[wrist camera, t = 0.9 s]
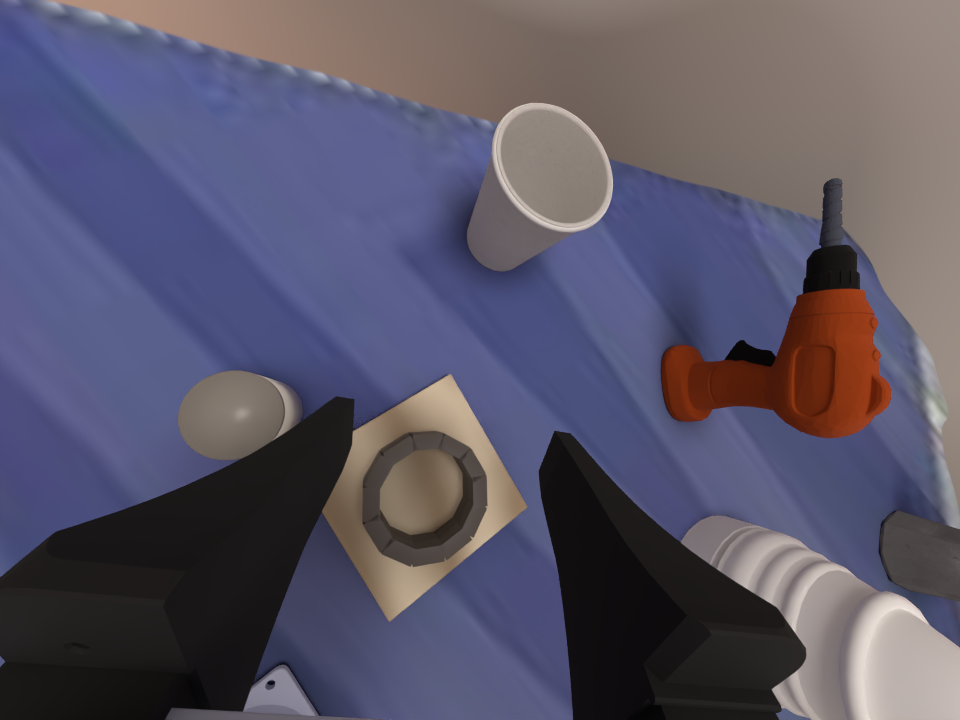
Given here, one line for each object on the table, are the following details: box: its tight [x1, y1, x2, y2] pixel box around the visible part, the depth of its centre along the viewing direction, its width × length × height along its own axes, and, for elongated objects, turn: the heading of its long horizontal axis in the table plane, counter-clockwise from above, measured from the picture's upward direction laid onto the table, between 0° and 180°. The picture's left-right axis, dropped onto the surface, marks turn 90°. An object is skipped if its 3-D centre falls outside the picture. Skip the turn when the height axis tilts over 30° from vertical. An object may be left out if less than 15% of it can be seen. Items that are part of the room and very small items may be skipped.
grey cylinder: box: [178, 371, 303, 460], centre depth 20 cm, size 4×4×6 cm
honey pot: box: [681, 516, 960, 720], centre depth 24 cm, size 13×13×18 cm
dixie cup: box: [467, 103, 613, 271], centre depth 25 cm, size 8×8×10 cm
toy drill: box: [662, 178, 891, 438], centre depth 28 cm, size 5×19×15 cm, turn 179°
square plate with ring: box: [322, 374, 527, 622], centre depth 23 cm, size 12×12×4 cm
